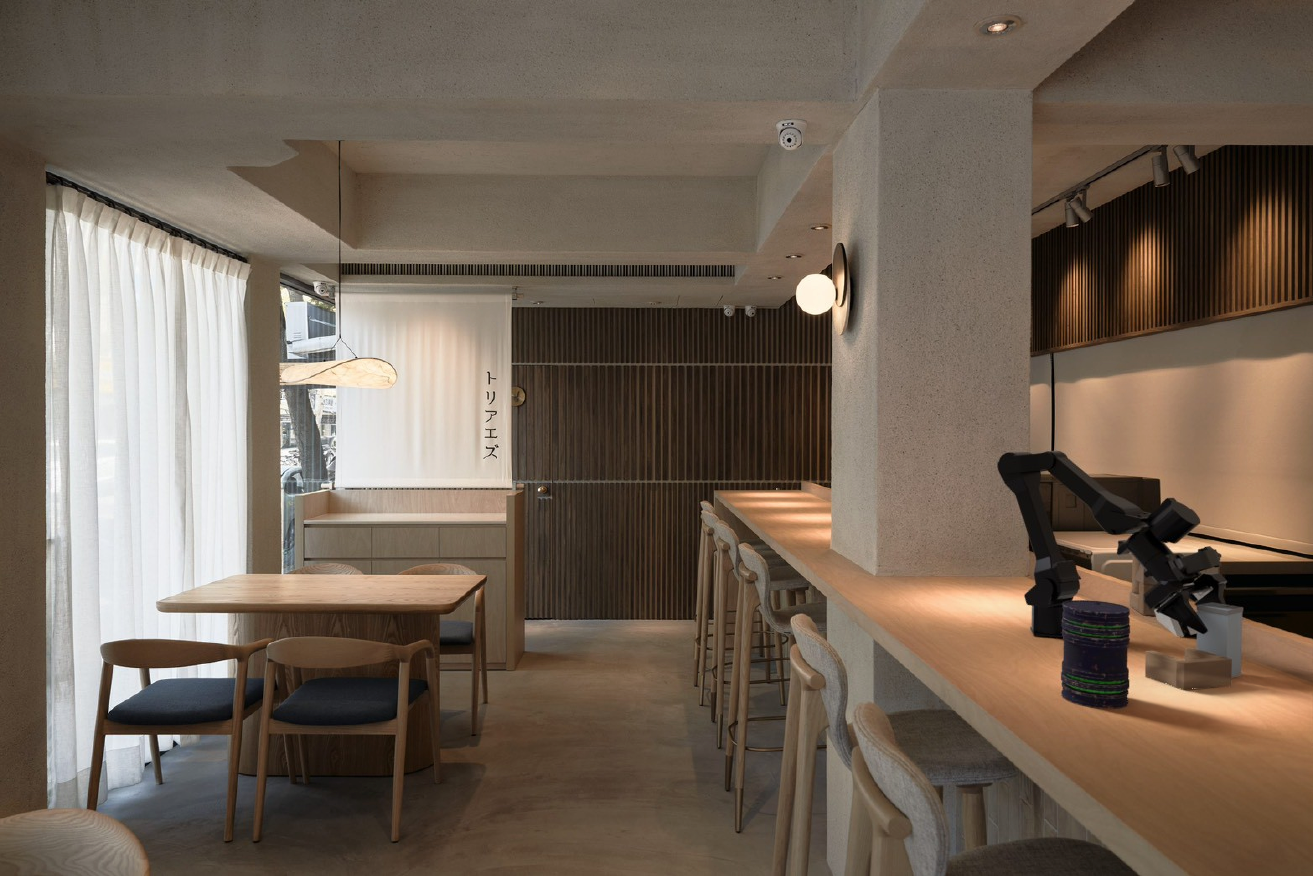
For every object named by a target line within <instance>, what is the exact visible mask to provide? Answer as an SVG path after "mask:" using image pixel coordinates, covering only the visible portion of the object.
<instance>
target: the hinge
mask: <svg viewBox="0 0 1313 876" xmlns="http://www.w3.org/2000/svg"><path fill="white" fill-rule="evenodd" d="M1160 607H1161V605H1160ZM1156 610H1157V609H1155V610H1154V611H1155V614H1156V616H1155V617H1156V619H1157V622H1159V623H1160V624H1161V625H1162V626H1164V627H1165V628H1166V629H1168V631H1170V632H1171V633H1172V634H1173V635H1174V636H1175V637H1177V636H1181V637H1180V638H1183V637H1185V635H1186V634H1187V635H1188V634H1189V635H1190V636H1192V635H1197V631H1196V630H1194V629H1192V628H1190V627H1188V626H1186V625H1184V624H1182V623H1180V622H1178V621H1176V620H1174V619H1172V618H1170V617H1168V616H1166V615H1164V614H1161V613H1157V612H1156Z"/></svg>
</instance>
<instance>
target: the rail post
mask: <svg viewBox="0 0 1313 876" xmlns="http://www.w3.org/2000/svg"><path fill="white" fill-rule="evenodd" d="M1243 612H1244V607H1243V606H1236V605H1230V604H1226V605H1225V604H1219V603H1213V602H1211V603H1206V604H1200V605H1197V606H1196V613H1197V615H1198V616H1199V617H1200V619H1201V620H1202V621H1203V623H1204V624H1205V626H1206V628H1207V629H1208V632H1207V633H1205V634H1201V633H1199V632H1197V634H1196V649H1198V650H1202V651H1205V652H1209V653H1212V654H1216V655H1219V656H1222V657H1226V658H1229V659H1232V678H1231V679H1233V678H1236V677H1240V676H1242V651H1243V650H1242V647H1243V646H1242V644H1243V643H1242V642H1243V635H1242V633H1243Z"/></svg>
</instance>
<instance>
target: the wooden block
mask: <svg viewBox="0 0 1313 876" xmlns="http://www.w3.org/2000/svg"><path fill="white" fill-rule="evenodd" d="M1131 563H1132V564H1131V565H1132V566H1131V569H1132V571H1131V573H1132V574H1131V591H1130V592H1129V607H1131V608H1132V609H1134V610H1135V611H1137V612H1138V613H1139V614H1141V615H1142V616H1145V617H1146V616H1149V617H1156V614H1155V611H1154V610H1150V609H1149V608H1148V607H1147V606H1146V605H1145V604H1144V602H1143V595H1144V594H1145V593H1146V592H1147V591H1149V590H1150V589H1151V588H1152V587H1153V586H1155V585H1156V584H1157V583H1156V581H1155V580H1154V579H1153V578H1146V577H1145V575H1144V573H1145V572H1146V570H1145V569H1144V567H1143V566H1142V565H1141V564H1140V563H1139V562H1138V561H1137V559H1136V558H1135V557H1134V556H1133V555H1132V561H1131Z"/></svg>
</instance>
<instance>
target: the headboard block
mask: <svg viewBox="0 0 1313 876" xmlns="http://www.w3.org/2000/svg"><path fill="white" fill-rule="evenodd" d="M1144 665H1145V666H1144V667H1145V668H1144V669H1145V671H1144V677H1146V678H1147V679H1148V678H1149V679H1150V678H1151V680H1153V679H1154V680H1153V681H1157V682H1159V683H1162V684H1165V683H1167V684H1169V685H1168V686H1170V685H1172V686H1171V687H1173V686H1174V687H1173V688H1177V689H1179V688H1181V689H1180V690H1182V689H1183V691H1187V690H1186V689H1191V690H1195V689H1194V688H1202V689H1209V688H1208V687H1213V688H1220V687H1221V688H1222V686H1223V687H1232V679H1233V678H1232V659H1229V658H1226V657H1222V656H1219V655H1216V654H1212V653H1209V652H1205V651H1202V650H1198V649H1197V648H1196V647H1195V648H1194V647H1185V648H1184V659H1182V658H1178V657H1174V656H1171V655H1168V654H1165V653H1161V652H1159V651H1155V650H1145V663H1144ZM1167 684H1166V685H1167ZM1229 685H1230V686H1229ZM1192 688H1193V689H1192Z"/></svg>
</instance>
